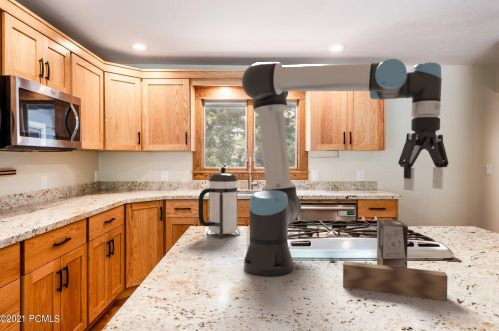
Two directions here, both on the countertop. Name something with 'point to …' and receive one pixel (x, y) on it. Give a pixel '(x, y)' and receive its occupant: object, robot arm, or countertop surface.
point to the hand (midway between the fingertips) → (423, 189)
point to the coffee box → (392, 243)
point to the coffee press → (221, 204)
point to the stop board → (395, 280)
